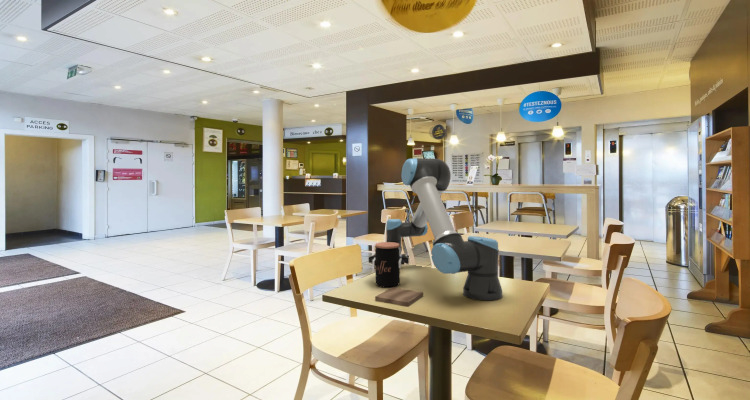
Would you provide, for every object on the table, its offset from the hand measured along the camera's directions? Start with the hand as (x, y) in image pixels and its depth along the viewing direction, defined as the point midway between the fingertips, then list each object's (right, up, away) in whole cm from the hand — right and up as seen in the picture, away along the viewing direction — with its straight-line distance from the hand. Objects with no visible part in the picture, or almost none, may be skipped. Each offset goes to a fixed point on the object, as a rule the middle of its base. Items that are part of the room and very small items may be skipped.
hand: (386, 264), depth 164 cm
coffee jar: (+1, -10, +5) cm, 11 cm away
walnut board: (+5, -11, -14) cm, 18 cm away
